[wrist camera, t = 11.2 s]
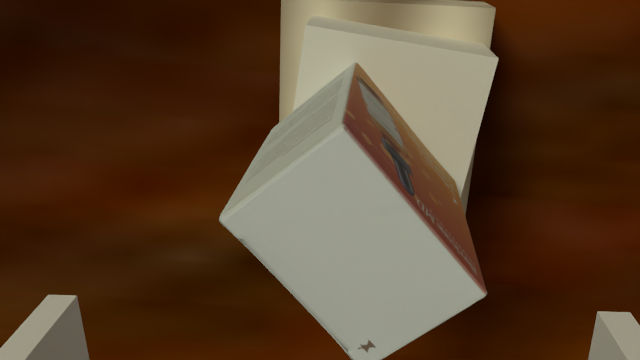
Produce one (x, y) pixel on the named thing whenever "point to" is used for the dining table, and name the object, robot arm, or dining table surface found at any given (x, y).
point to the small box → (358, 220)
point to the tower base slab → (387, 11)
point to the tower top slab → (408, 80)
